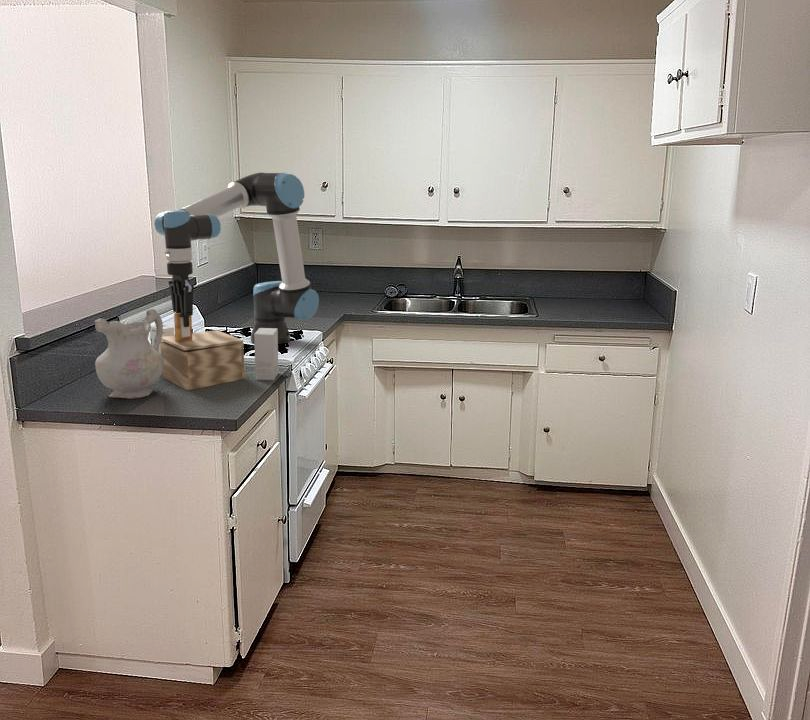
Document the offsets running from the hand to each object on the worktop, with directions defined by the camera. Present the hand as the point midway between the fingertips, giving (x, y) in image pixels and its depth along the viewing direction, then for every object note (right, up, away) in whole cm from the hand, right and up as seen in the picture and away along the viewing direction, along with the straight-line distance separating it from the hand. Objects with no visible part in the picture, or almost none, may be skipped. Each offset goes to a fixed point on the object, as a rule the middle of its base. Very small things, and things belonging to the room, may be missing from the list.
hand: (184, 335), depth 240 cm
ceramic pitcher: (-13, -18, -8) cm, 23 cm away
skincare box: (+25, -13, +10) cm, 30 cm away
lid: (+4, -2, +4) cm, 6 cm away
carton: (+4, -13, +8) cm, 16 cm away
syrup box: (-12, -11, +18) cm, 24 cm away
